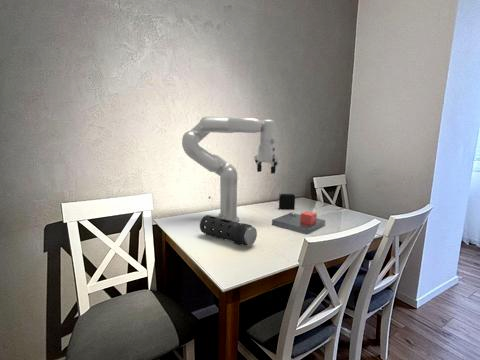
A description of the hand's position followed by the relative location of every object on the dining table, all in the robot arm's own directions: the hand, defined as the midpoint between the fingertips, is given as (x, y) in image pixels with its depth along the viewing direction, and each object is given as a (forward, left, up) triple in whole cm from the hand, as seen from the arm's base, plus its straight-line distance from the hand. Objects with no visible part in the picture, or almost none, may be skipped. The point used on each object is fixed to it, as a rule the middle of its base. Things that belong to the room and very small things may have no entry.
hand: (266, 172), depth 166 cm
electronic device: (+31, +5, -28) cm, 42 cm away
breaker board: (+6, -19, -28) cm, 35 cm away
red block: (+6, -25, -25) cm, 36 cm away
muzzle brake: (-38, -7, -29) cm, 48 cm away
